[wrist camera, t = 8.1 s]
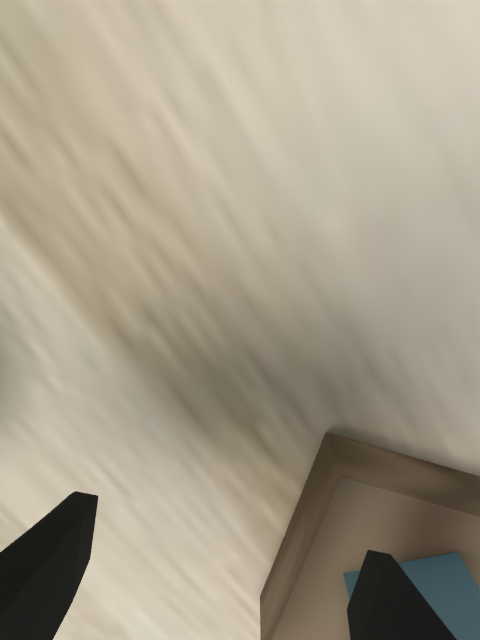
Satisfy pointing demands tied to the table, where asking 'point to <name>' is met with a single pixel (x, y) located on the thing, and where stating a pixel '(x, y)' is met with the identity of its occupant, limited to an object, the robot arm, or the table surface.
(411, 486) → the plate
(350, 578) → the teal cube
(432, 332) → the table surface
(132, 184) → the table surface
